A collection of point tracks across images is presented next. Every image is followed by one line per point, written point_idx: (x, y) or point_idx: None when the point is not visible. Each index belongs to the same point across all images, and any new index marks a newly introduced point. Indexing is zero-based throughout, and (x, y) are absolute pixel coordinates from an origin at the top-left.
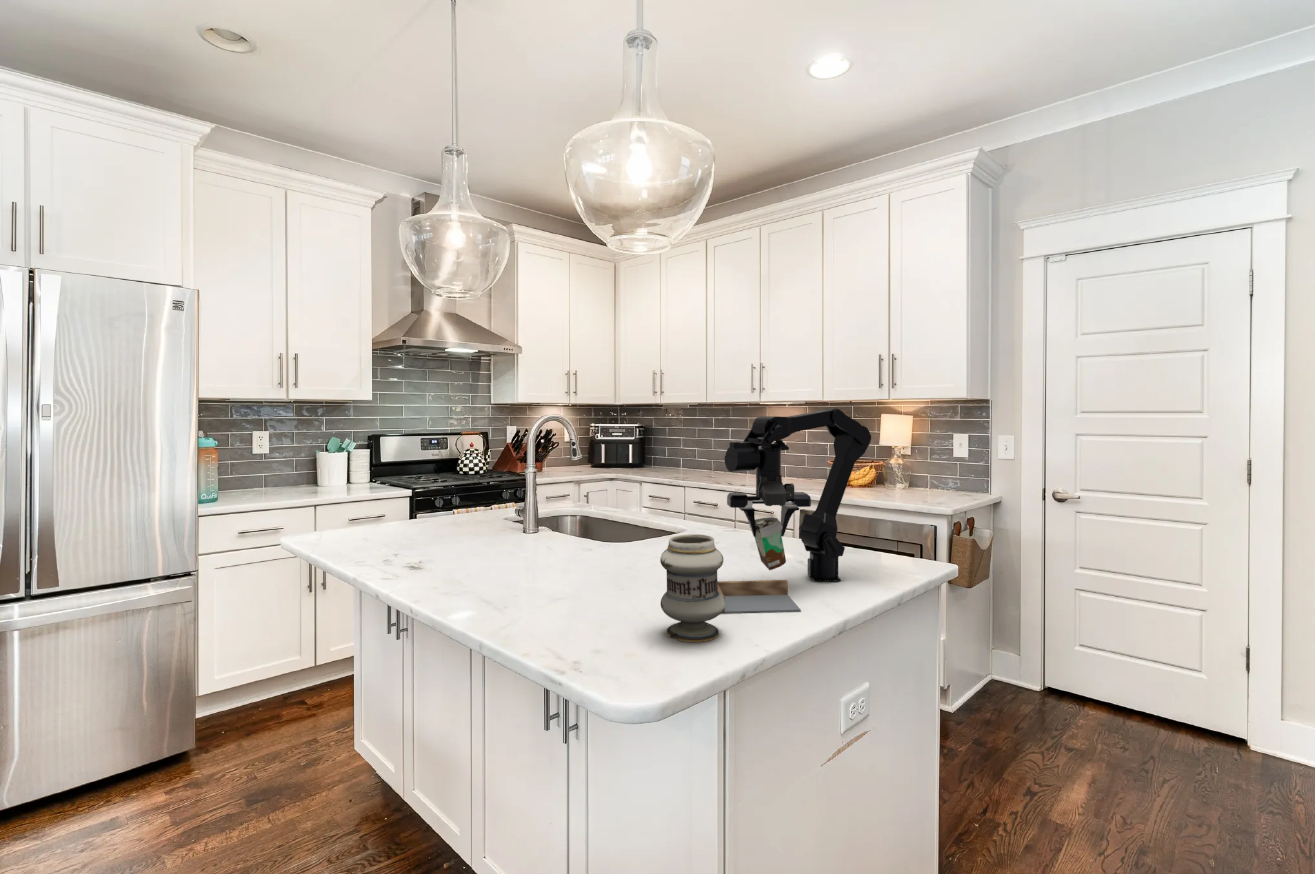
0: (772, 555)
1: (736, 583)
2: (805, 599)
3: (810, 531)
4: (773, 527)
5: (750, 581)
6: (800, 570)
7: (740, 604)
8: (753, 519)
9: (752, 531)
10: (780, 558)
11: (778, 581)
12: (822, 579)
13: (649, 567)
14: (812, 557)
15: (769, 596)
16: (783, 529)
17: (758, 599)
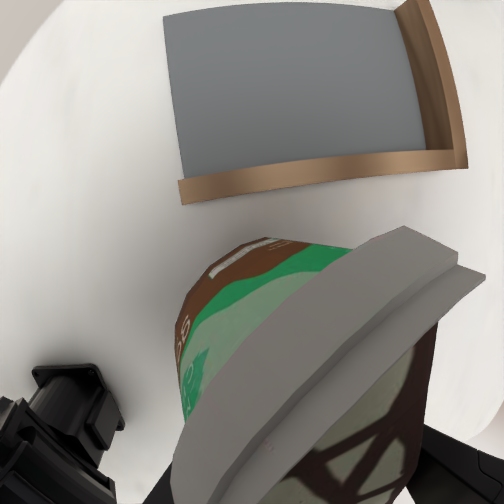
0: (259, 258)
1: (396, 152)
2: (125, 153)
3: (46, 499)
4: (299, 380)
5: (347, 166)
6: (151, 462)
7: (359, 60)
8: (481, 481)
9: (423, 430)
10: (203, 292)
11: (221, 173)
12: (73, 370)
13: (494, 400)
14: (84, 436)
15: (258, 148)
16: (170, 491)
17: (301, 108)
